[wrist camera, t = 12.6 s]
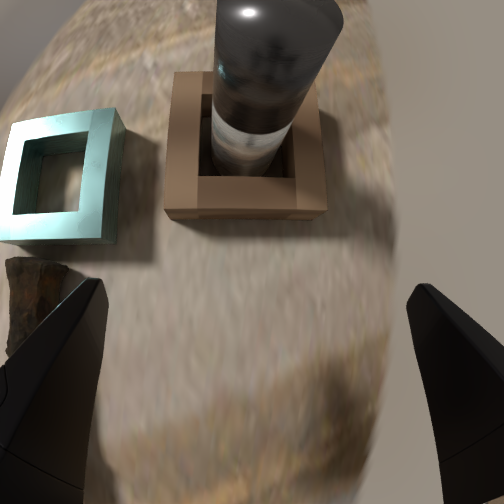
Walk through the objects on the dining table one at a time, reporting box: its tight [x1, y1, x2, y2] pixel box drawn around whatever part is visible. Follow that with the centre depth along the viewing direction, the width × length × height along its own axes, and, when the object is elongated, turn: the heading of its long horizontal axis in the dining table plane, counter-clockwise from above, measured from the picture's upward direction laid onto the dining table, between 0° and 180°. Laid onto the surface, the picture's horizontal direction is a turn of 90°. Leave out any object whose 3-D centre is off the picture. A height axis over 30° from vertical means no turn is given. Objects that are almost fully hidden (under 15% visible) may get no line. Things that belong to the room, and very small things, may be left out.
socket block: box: [0, 108, 126, 246], centre depth 17 cm, size 8×8×3 cm
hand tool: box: [5, 256, 69, 357], centre depth 15 cm, size 19×4×5 cm, turn 174°
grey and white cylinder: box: [211, 0, 344, 177], centre depth 14 cm, size 4×4×13 cm
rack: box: [164, 72, 328, 220], centre depth 19 cm, size 9×9×3 cm
